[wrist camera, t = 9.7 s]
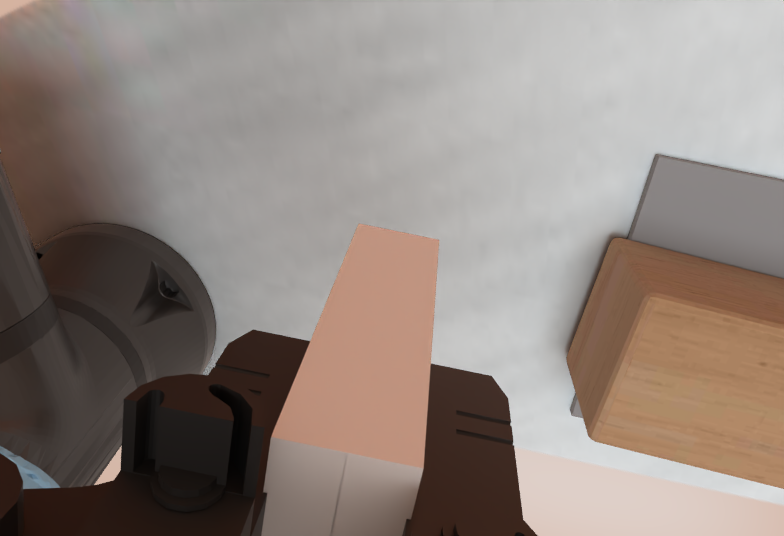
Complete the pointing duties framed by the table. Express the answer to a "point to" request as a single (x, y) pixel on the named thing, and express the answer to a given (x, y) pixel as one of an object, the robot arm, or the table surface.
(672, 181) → the mat
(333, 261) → the table surface
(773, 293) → the wooden block
